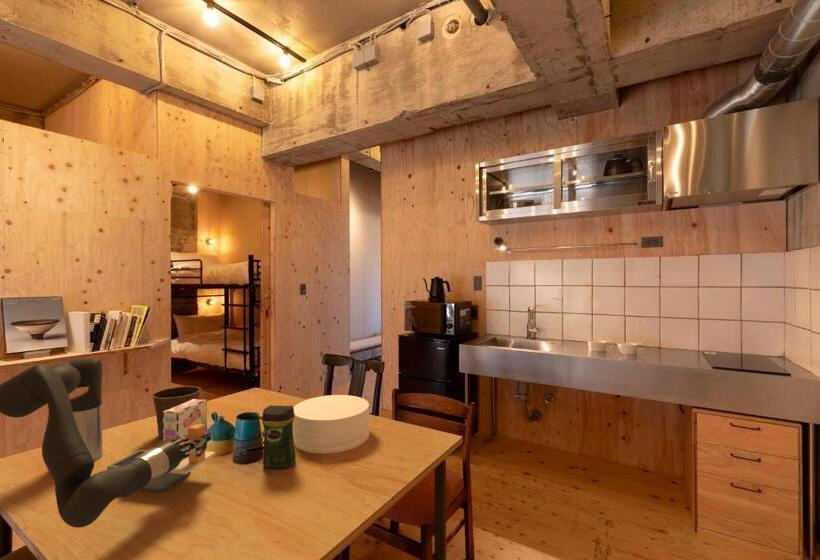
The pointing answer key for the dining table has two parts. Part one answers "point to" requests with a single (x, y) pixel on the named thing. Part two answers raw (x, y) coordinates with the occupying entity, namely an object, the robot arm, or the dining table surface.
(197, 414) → the candy box
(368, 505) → the dining table surface
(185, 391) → the plant pot
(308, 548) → the dining table surface
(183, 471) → the lid
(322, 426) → the plate stack
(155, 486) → the tub
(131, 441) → the dining table surface
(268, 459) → the coffee jar
